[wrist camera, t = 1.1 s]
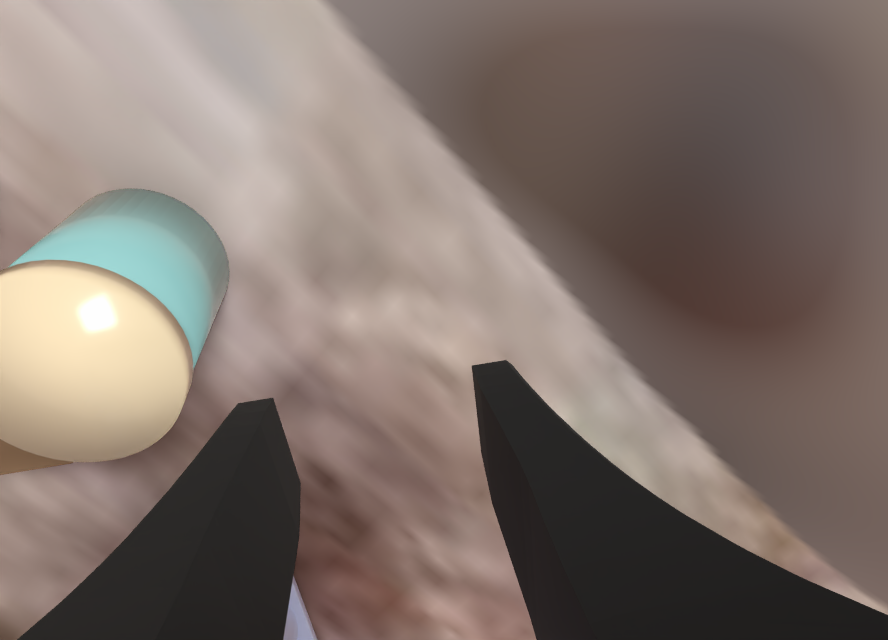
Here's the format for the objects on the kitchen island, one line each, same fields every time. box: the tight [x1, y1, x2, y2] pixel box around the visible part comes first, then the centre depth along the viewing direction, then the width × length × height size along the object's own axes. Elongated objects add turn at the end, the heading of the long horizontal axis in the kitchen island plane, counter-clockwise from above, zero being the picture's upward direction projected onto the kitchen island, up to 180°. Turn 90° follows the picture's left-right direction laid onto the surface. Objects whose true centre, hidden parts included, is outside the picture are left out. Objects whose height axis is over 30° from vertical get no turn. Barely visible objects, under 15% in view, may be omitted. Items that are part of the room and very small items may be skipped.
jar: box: [0, 189, 229, 462], centre depth 16 cm, size 5×5×6 cm
